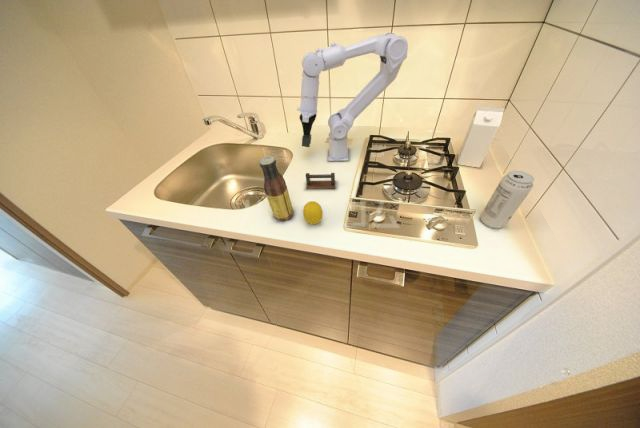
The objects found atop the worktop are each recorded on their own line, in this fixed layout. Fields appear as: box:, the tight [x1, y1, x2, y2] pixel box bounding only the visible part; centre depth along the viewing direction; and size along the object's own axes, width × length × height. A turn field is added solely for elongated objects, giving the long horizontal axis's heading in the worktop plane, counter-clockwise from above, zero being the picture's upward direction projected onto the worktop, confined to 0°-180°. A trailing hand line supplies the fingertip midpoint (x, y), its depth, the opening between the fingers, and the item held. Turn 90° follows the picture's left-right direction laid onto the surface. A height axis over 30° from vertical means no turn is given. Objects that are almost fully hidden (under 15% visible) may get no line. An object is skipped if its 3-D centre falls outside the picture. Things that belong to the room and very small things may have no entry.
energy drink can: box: [480, 170, 535, 230], centre depth 57 cm, size 6×6×15 cm
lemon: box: [302, 200, 324, 225], centre depth 64 cm, size 6×6×8 cm
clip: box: [301, 133, 312, 148], centre depth 86 cm, size 4×3×7 cm
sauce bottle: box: [258, 155, 294, 222], centre depth 64 cm, size 6×6×20 cm
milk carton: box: [457, 106, 506, 168], centre depth 77 cm, size 7×7×19 cm
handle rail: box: [305, 172, 336, 190], centre depth 78 cm, size 4×10×5 cm, turn 85°
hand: (306, 134), depth 86 cm, fingers closed on clip
